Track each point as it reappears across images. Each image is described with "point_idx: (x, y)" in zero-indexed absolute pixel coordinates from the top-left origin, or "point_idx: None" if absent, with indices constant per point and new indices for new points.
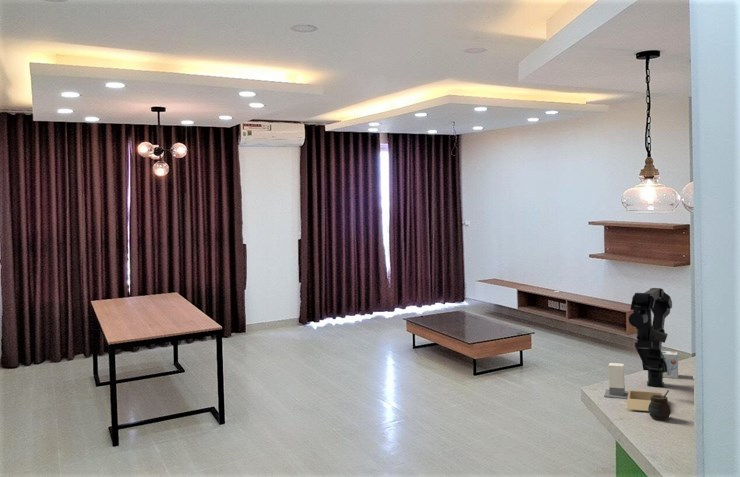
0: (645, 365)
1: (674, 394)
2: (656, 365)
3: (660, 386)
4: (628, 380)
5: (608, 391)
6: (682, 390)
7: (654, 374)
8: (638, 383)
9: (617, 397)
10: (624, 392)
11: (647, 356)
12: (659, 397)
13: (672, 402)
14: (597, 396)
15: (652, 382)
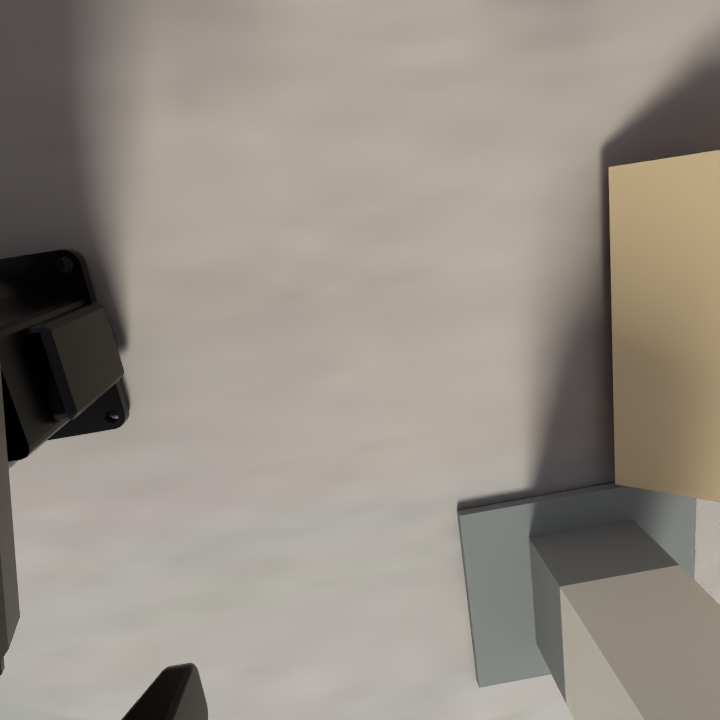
0: (17, 586)
1: (337, 80)
2: (2, 404)
3: (89, 284)
4: None
5: (537, 657)
6: (96, 7)
7: (34, 390)
8: (66, 515)
9: (691, 553)
10: (583, 539)
11: (175, 715)
12: None
13: (682, 55)
14: None
15: (112, 378)
